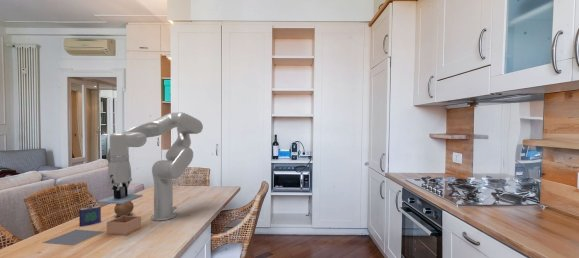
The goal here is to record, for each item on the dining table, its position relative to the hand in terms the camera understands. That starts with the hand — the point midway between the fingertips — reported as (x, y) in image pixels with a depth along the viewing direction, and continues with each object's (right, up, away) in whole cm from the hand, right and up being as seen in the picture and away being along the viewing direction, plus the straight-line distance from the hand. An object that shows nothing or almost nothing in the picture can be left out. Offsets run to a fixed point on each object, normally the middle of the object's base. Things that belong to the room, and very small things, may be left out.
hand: (120, 196), depth 135 cm
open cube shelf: (+1, -17, 0) cm, 17 cm away
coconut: (-13, -17, +25) cm, 33 cm away
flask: (-21, -17, +10) cm, 29 cm away
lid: (0, -1, 0) cm, 1 cm away
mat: (-16, -17, -8) cm, 25 cm away
